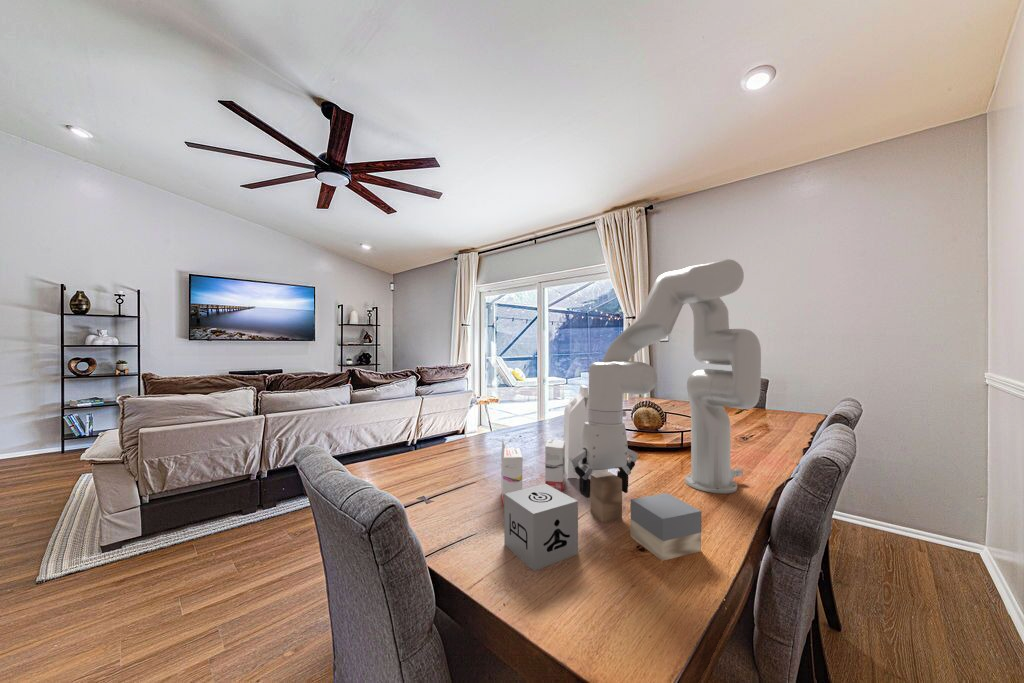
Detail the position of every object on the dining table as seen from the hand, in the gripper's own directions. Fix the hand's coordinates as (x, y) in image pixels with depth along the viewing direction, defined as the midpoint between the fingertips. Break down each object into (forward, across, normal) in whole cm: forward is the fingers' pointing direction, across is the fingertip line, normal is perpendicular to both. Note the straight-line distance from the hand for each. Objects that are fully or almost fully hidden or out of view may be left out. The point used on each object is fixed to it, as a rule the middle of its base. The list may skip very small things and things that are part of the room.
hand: (604, 493), depth 85 cm
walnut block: (+5, -1, 0) cm, 5 cm away
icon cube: (+6, +19, +8) cm, 21 cm away
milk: (+5, -11, -27) cm, 30 cm away
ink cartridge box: (+6, +16, -16) cm, 24 cm away
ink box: (+6, +2, -20) cm, 21 cm away
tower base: (+6, -5, +14) cm, 16 cm away
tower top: (+2, -5, +14) cm, 15 cm away
